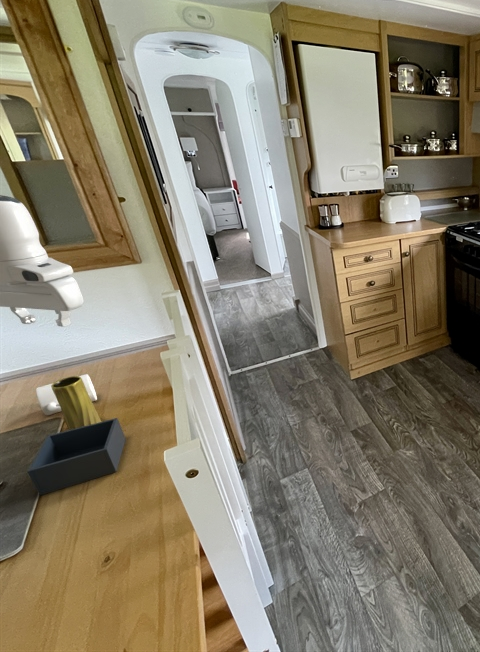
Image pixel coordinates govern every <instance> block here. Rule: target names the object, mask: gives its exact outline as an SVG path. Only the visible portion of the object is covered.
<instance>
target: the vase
mask: <svg viewBox="0 0 480 652" xmlns="http://www.w3.org/2000/svg"><path fill="white" fill-rule="evenodd" d="M79 376H80V375H73V376H66V377H63V378H61V379H58V380H56V381H55V382H53V384H52V383H51V384H52V385H51V387H52V390H53V392H54V394H55V396H56V398H57V401H58V403H59V405H60V407H61V410H62V411H61V413H62V417H63V418H64V422H65V423H66V426H67V429H68V430H71V429H75V428H79V427H83V426H87V425H91V424H95V423H99V422H103V421H102V419H101V418H100V415H99V413H98V411H97V409H96V408H95V405H94V403H93V402H92V401H91V399H90V397H89V394H88V392H87V390H86V388H85V385H84V383H83V381H82V378H81V377H79Z"/></svg>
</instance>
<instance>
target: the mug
mask: <svg viewBox="0 0 480 652" xmlns="http://www.w3.org/2000/svg"><path fill="white" fill-rule="evenodd" d="M78 376H79V377H81V378H82V381H83V383H84V385H85V388H86V390H87V392H88V394H89V397H90V399H91V401H92V403H93V402H96V401H97V400H98V397H97V393H96V390H95V387H94V384H93V382H92V379H91V377H90V376H89V374H88V373H86V374H82V375H78ZM53 383H54V382H53ZM53 383H49V384H46V385H45V384H44V385H42V386H38V387H37V388H35V394H36V399H37V401H38V404H39V406H40V408H41V410H42V412H43V414H44V415H45V416H51V415H54V414H57V413H62V410H61V407H60V405H59V403H58V401H57V398H56V396H55V394H54V392H53V390H52V387H51V385H52V384H53Z"/></svg>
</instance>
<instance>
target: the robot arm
mask: <svg viewBox="0 0 480 652" xmlns="http://www.w3.org/2000/svg"><path fill="white" fill-rule="evenodd" d="M73 274H74V269H73V267H72V266H71V265H69V264H67V263H65V262H61V261H58V260H57V259H54V258H52V257H49V255H48V253H47V251H46V249H45V248H44V247H43V246H42V244H41V242H40V233H39V230H38V228H37V226H36V223H35V221H34V219H33V218H32V215H31V213H30V212H29V210H28V209H27V207H26V206H25V204H24V203H22V202H21V201H20V200H19V199H16V198H15V197H11V196H8V195H2V194H0V307H2V308H9V310H10V311H11V312H12V314H14V315H15V316H16V317H17V318H19V321H20V323H21V324H22V325H31V324H34V323H36V322H37V321H36V320H37V319H36V318H35V315H34V314H31V313H30V312H29V310H28V309H31V310H42V311H43V310H44V311H45V310H46V311H54V312H55V314H56V315H58V318H57V319H55V323H56V325H57V326H58V327H62V328H66V327H68V326H71V325H72V321H71V319H70V317H71V313H72V311H73V310H76V309H80V308H82V307H83V305H84V302H85V301H84V296H83V294H82V291H81V289H80V286H79V283H78V282H77V280H76V279H75V278H74V277H73V276H71V275H73Z"/></svg>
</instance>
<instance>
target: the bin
mask: <svg viewBox="0 0 480 652" xmlns="http://www.w3.org/2000/svg"><path fill="white" fill-rule="evenodd" d="M125 444H126V437H125V433H124V431H123V429H122V425H121V423H120V421H119V419H118V417H115V418H110V419H107V420H103V421H102V422H99V423H95V424H91V425H87V426H83V427H79V428H75V429H71V430H69V429H68V430H63V431H60V432H56V433H52V434H48V435H47V436H46V437H45V439H44V440H43V442H42V444H41V445H40V448H39V449H38V451H37V453H36V455H35V456H34V459H33V460H32V462H31V464H30V466H29V467H28V468H27V471H26V474H27V475H28V477H29V479H30V480H31V482H32V484H33V486H34V488H35V490H36V491H37V493H38V495H39V496H44V495H47V494H49V493H53V492H56V491H59V490H62V489H65V488H68V487H69V488H70V487H73V486H76V485H79V484H82V483H85V482H88V481H91V480H95V479H98V478H100V477H104V476H107V475H111V474H115V473H116V472H117V471H118V467H119V464H120V460H121V457H122V453H123V450H124V447H125Z"/></svg>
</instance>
